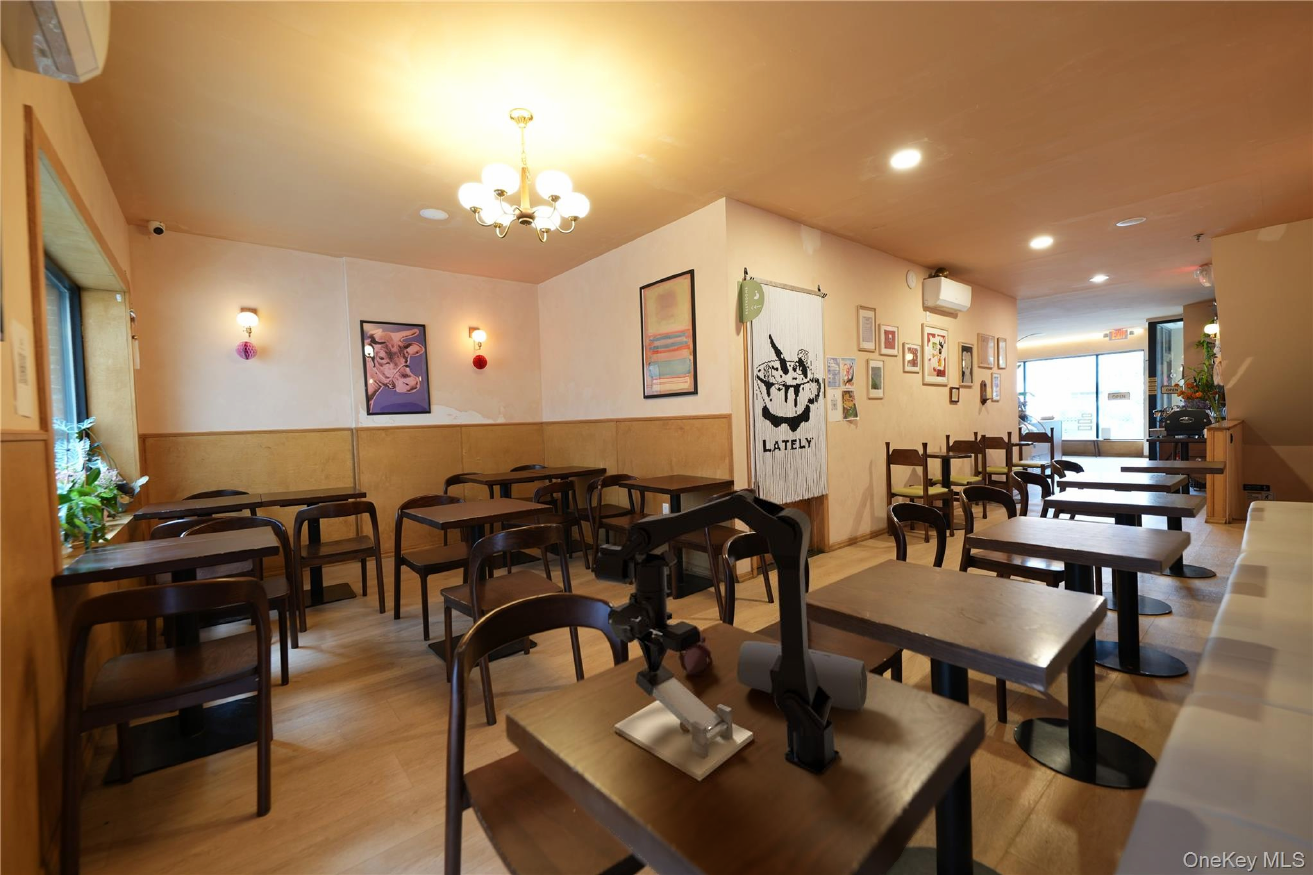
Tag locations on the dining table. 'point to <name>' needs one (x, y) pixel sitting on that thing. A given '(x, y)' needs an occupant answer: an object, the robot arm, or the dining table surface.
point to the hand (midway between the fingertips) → (653, 670)
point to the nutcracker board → (683, 739)
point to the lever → (680, 701)
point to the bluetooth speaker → (833, 671)
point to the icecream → (696, 658)
